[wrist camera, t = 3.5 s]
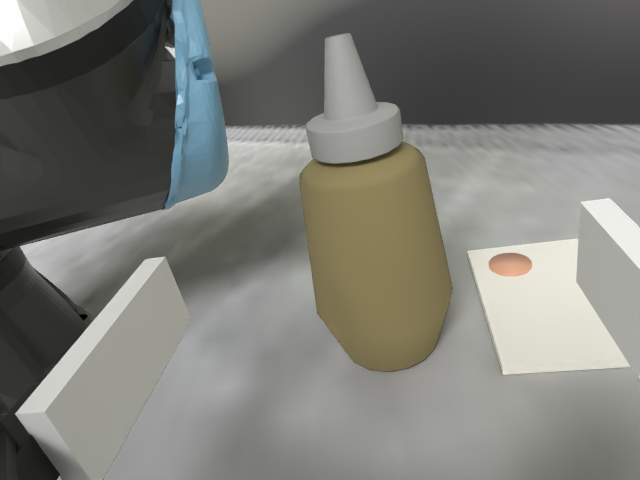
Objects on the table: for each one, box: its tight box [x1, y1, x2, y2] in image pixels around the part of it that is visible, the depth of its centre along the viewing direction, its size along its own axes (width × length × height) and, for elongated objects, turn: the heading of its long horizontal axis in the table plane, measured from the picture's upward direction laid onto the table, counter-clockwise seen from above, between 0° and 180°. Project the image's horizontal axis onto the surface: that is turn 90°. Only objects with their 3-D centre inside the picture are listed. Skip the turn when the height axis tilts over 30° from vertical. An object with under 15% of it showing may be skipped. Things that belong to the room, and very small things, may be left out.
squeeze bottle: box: [300, 33, 453, 372], centre depth 25 cm, size 8×8×18 cm
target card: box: [467, 238, 630, 375], centre depth 29 cm, size 12×12×1 cm
